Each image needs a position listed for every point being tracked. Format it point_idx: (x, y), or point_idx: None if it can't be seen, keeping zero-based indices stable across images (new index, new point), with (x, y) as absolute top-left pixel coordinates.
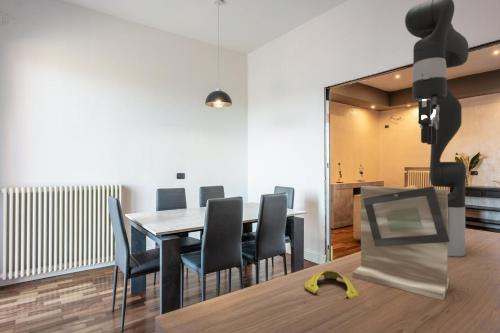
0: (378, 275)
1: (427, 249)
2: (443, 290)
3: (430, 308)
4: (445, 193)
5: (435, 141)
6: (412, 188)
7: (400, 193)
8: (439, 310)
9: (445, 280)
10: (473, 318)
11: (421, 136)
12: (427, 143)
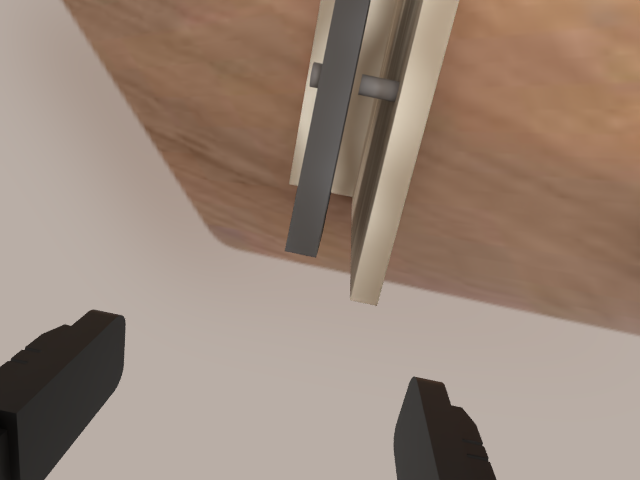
0: None
1: (362, 171)
2: None
3: (238, 154)
4: (351, 289)
5: (395, 452)
6: (404, 159)
7: (316, 97)
8: (238, 169)
9: (352, 196)
10: (237, 221)
11: (56, 342)
12: (412, 381)
